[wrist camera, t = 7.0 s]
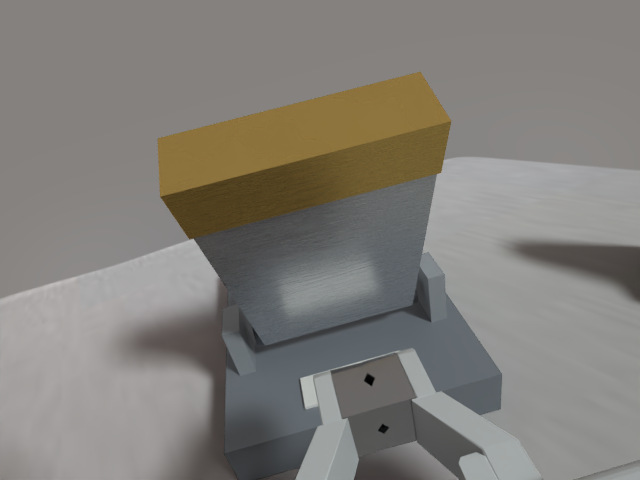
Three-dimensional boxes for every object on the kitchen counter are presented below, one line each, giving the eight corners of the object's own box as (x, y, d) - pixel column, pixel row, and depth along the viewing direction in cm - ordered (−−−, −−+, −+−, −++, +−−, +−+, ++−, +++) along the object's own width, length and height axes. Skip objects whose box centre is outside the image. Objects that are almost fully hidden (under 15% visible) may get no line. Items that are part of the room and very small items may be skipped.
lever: (419, 313, 26) (463, 117, 13) (262, 357, 26) (147, 200, 13) (404, 277, 28) (431, 68, 15) (255, 318, 27) (145, 141, 14)
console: (500, 408, 24) (504, 326, 20) (241, 484, 23) (200, 411, 20) (396, 244, 39) (388, 181, 36) (238, 287, 38) (215, 227, 35)
